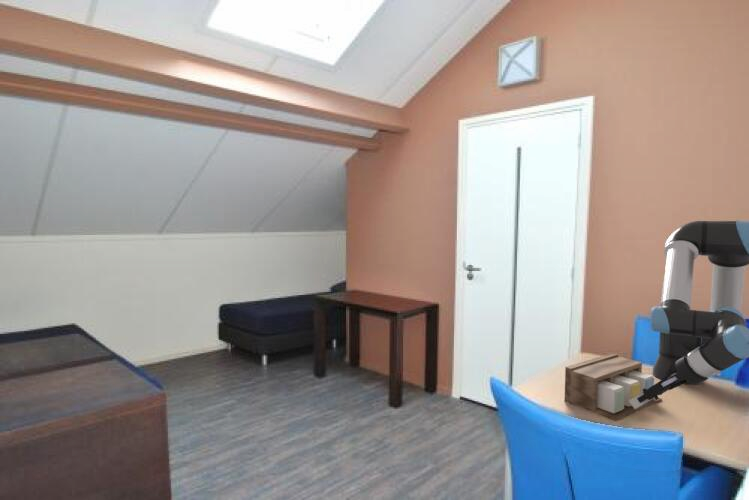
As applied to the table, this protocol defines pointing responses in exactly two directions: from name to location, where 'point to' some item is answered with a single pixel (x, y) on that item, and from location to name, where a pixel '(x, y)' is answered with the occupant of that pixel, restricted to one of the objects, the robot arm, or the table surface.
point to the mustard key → (628, 387)
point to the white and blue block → (641, 379)
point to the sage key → (610, 396)
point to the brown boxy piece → (585, 381)
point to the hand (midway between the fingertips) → (633, 404)
